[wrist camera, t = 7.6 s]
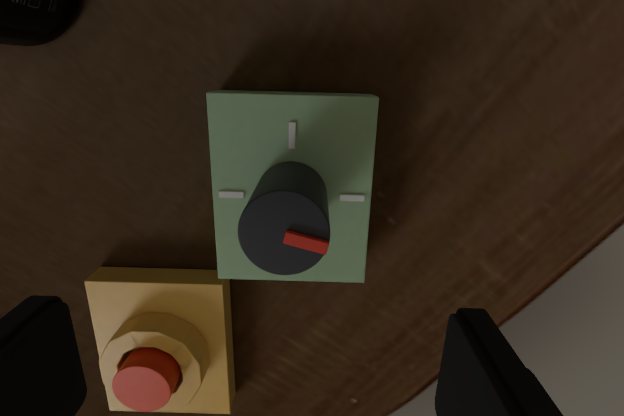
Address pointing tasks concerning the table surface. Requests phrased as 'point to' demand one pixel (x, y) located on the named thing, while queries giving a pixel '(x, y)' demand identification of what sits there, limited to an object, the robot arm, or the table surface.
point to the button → (146, 379)
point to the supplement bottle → (35, 20)
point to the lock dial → (286, 220)
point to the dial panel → (298, 148)
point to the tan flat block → (167, 330)
